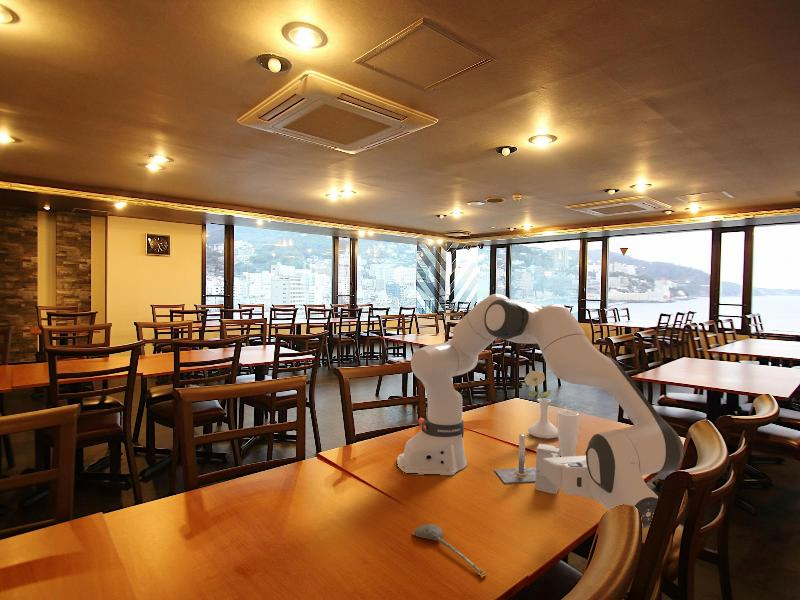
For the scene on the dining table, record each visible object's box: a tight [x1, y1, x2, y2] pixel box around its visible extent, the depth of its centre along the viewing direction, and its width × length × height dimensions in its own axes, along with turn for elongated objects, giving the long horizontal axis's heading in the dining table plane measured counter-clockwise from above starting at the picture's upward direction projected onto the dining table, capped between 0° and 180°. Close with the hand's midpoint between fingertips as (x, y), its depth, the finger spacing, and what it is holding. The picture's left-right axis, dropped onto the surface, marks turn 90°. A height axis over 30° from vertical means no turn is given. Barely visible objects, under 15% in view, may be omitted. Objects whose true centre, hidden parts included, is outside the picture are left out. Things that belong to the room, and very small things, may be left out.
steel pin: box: [516, 433, 527, 477], centre depth 135 cm, size 3×3×12 cm
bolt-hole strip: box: [493, 466, 536, 485], centre depth 137 cm, size 26×9×1 cm, turn 97°
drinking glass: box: [556, 409, 580, 457], centre depth 150 cm, size 7×7×15 cm
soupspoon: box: [413, 523, 487, 577], centre depth 99 cm, size 22×3×7 cm
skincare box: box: [534, 443, 561, 495], centre depth 127 cm, size 6×4×12 cm
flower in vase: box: [524, 370, 558, 440], centre depth 169 cm, size 13×11×25 cm
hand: (570, 454), depth 115 cm, fingers open, 8 cm apart
